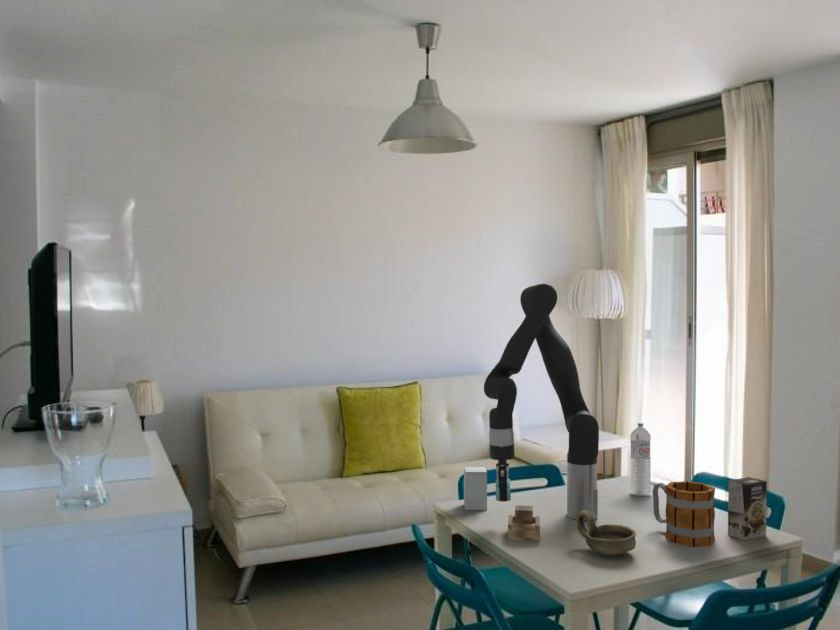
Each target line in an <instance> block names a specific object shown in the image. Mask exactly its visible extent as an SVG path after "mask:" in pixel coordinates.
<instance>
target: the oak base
mask: <svg viewBox="0 0 840 630" xmlns="http://www.w3.org/2000/svg"><path fill="white" fill-rule="evenodd" d="M507 519H508V520H507V522H508V523H507V540H508V541H528V542H529V541H530V542H531V541H532V542H533V541H534V542H535V541H536V542H540V541H541V525H540V523H541V522H540V516H537V515H536V516H535V515H533V524H517V523H515V514H514V515H513V514H511V515H510V514H509V515H508V518H507Z"/></svg>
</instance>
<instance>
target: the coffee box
mask: <svg viewBox="0 0 840 630" xmlns="http://www.w3.org/2000/svg"><path fill="white" fill-rule="evenodd" d="M767 484H768V481H767V480H763V479H760V478H753V477H750V476H749V477H741V478H736V479H735V478H734V479H729V480H728V495H727V497H728V499H727V500H728V503H727V535H728V536H731V537H734V538H737V539H740V540H741V541H748V540H753V539H758V538H762V537H767V499H768V498H767V497H768V494H767V493H768V492H767V488H768V485H767Z"/></svg>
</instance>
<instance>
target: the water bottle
mask: <svg viewBox="0 0 840 630" xmlns="http://www.w3.org/2000/svg"><path fill="white" fill-rule="evenodd" d="M651 437H652V436H651V433H650V432H649V431H648V430H647V429H646V428H645V427H644V423H643V422H637V427H636V428H635V429H633V430H632V431H631V432H630V457H629V458H630V459H629V461H630V465H629V466H630V468H629V470H630V471H629V472H630V474H629V477H630V478H629V485H630V486H629V492H630V494H631V495H632V496H635V497H649V496H651V487H652V486H651V484H652V483H651V478H652V477H651V473H652V472H651V470H652V469H651V468H652V467H651V466H652V465H651V459H652V458H651V440H652V438H651Z"/></svg>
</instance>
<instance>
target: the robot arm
mask: <svg viewBox="0 0 840 630" xmlns="http://www.w3.org/2000/svg"><path fill="white" fill-rule="evenodd" d="M519 297H520V298H519V299H520V307H521V309H522V311H523V313H524V315H525V317H524V318H523V321H522V322H521V323H520V325H519V327H518V328H517V329H516V330H515V332H513V335H512V336H511V337H510V339H509V340H508V342H507V343H506V345H505V348H504V350H503V351H502V354H501V356H500V359H499V360H498V362H497V363H496V364H495V365H494V367H493V368H492V370H491V371H490V372H489V373H488V375H487V376H486V377H485V381H484V383H483V384H484V385H483V392H484V395H485V396H486V398H488V399H491V400H497V405H496V407H493V408H491V409H490V411H489V414H488V417H489V418H488V419H489V433H488V441H489V443H488V444H489V446H488V447H489V458H490V459H491V460H494V461H495V460H497V463H495V471H496V479H497V480H498V481H499V485H498V488H499V493H500V501H499V502H501V501H506V502H508V501H507V487H508V486H507V481H508V479H509V471H510V463H509V462H508V460H513V459H515V454H516V453H515V433H514V423H513V420H514V419H513V414H514V409H515V405H516V399H517V396H518V388H517V385H516V382H515V381H514V380H513V379H512V378H510V377H511V376H514V375H517V374H519V373H520V372H521V370H522V368H523V365H524V363H525V361H526V359H527V357H528V354H529V352H530V350H531V348H532V346H533V343H534V341H536V343H537V346H538V350H539V351H540V355H541V358H542V361H543V364H544V367H545V370H546V373H547V375H548V378H549V380H550V383H551V385H552V388H553V390H554V391H555V393H556V396H557V397H558V400H559V402H560V406H561V411H562V415H563V419H564V424H565V428H566V430H567V433H568V451H567V454H566V516H567V517H568V518H570V519H573V520H576V516H577V514H578V513H579V512H581V511H585V510H586V511H589V512H590V513H591V514H592V516H593V518H594V520H598V518H599V515H598V514H599V511H598V510H599V507H598V505H599V504H598V503H599V502H598V501H599V499H598V498H599V497H598V496H599V493H598V492H599V489H598V456H599V446H600V445H599V442H600V441H599V440H600V439H599V437H600V427H599V423H598V420H597V419H596V417H595V415H592V414H591V412H590V410H589V408H588V406H587V403H586V401H585V400H584V396H583V394H582V391H581V386H580V378H579V373H578V369H577V365H576V361H575V358H574V355H573V353H572V350H571V348H570V346H569V344H567V343H568V342H567V341H565V339H564V338H563V337H562V336H561V335H560V333H559V332H558V330H557V329H556V328H555V327H554V324H553V322H552V319H551V318H550V315H551V313H552V312H553V310H554V308H555V307H556V305H557V302H558V292H557V290H556V289H555V286H553V285H552V284H549V283H537V284H535V285H529V286H528V287H526V288H524V289H523V290H522V292H521V293H520V296H519ZM500 482H505V484H500ZM583 521H587V520H586V518H585V517H584V518H583Z"/></svg>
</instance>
